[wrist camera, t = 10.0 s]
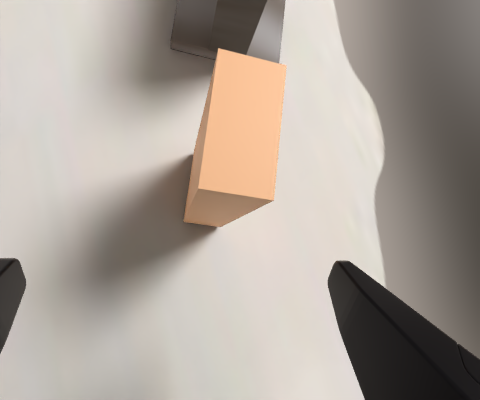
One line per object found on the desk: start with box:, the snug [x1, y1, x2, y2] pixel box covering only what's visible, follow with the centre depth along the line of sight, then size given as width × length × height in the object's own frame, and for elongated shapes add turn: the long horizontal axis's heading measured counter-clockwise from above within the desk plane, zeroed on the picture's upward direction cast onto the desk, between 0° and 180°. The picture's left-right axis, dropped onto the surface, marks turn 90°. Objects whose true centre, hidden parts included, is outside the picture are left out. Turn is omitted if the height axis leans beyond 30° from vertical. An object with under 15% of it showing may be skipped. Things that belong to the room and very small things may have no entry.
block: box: [183, 48, 286, 227], centre depth 16 cm, size 5×2×11 cm, turn 173°
